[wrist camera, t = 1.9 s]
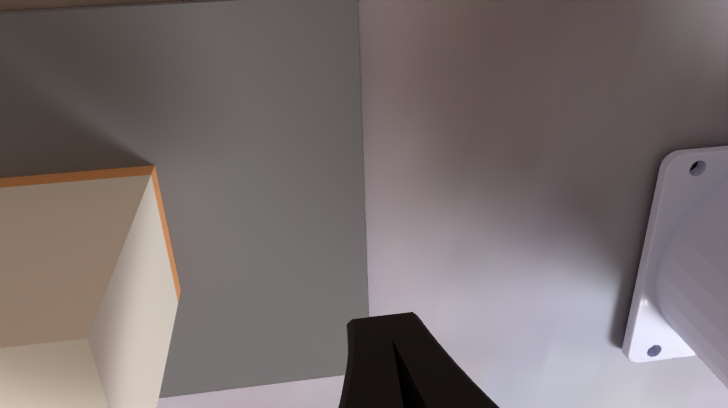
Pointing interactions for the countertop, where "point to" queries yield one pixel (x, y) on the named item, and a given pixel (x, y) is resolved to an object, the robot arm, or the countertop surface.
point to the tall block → (85, 289)
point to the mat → (214, 163)
